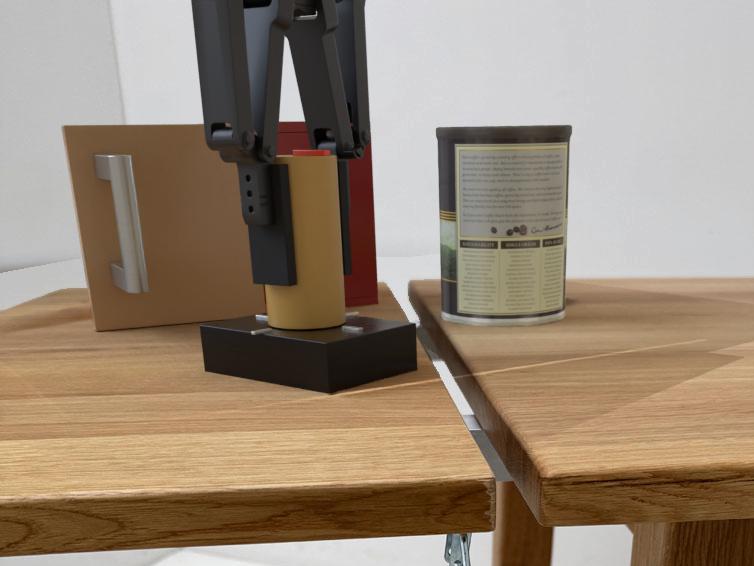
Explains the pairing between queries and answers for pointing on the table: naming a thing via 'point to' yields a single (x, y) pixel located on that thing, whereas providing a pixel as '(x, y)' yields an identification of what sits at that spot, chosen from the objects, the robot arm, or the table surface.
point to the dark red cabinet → (362, 217)
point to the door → (159, 226)
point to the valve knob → (312, 246)
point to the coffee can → (503, 223)
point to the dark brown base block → (310, 352)
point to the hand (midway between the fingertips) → (304, 277)
